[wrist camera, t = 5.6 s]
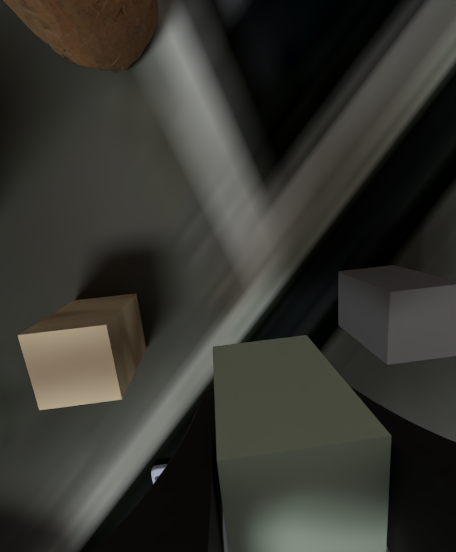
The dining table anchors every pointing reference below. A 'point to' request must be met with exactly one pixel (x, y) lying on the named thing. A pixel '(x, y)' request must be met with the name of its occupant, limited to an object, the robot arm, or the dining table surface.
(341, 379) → the sage block
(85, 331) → the beech block
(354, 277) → the charcoal block
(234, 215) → the dining table surface
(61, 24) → the brown rough elongated lump
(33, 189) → the dining table surface
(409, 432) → the robot arm
